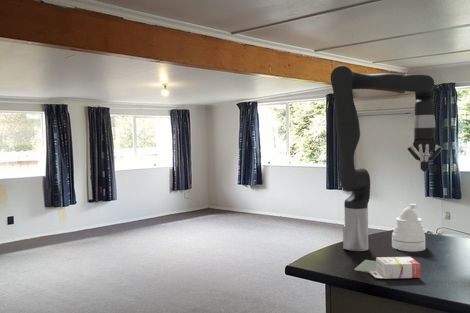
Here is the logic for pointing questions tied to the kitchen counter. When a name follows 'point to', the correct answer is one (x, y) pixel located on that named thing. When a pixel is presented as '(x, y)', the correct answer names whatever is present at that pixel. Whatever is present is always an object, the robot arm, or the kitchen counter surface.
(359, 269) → the mat
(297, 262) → the kitchen counter surface
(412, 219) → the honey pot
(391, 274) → the ink cartridge box
